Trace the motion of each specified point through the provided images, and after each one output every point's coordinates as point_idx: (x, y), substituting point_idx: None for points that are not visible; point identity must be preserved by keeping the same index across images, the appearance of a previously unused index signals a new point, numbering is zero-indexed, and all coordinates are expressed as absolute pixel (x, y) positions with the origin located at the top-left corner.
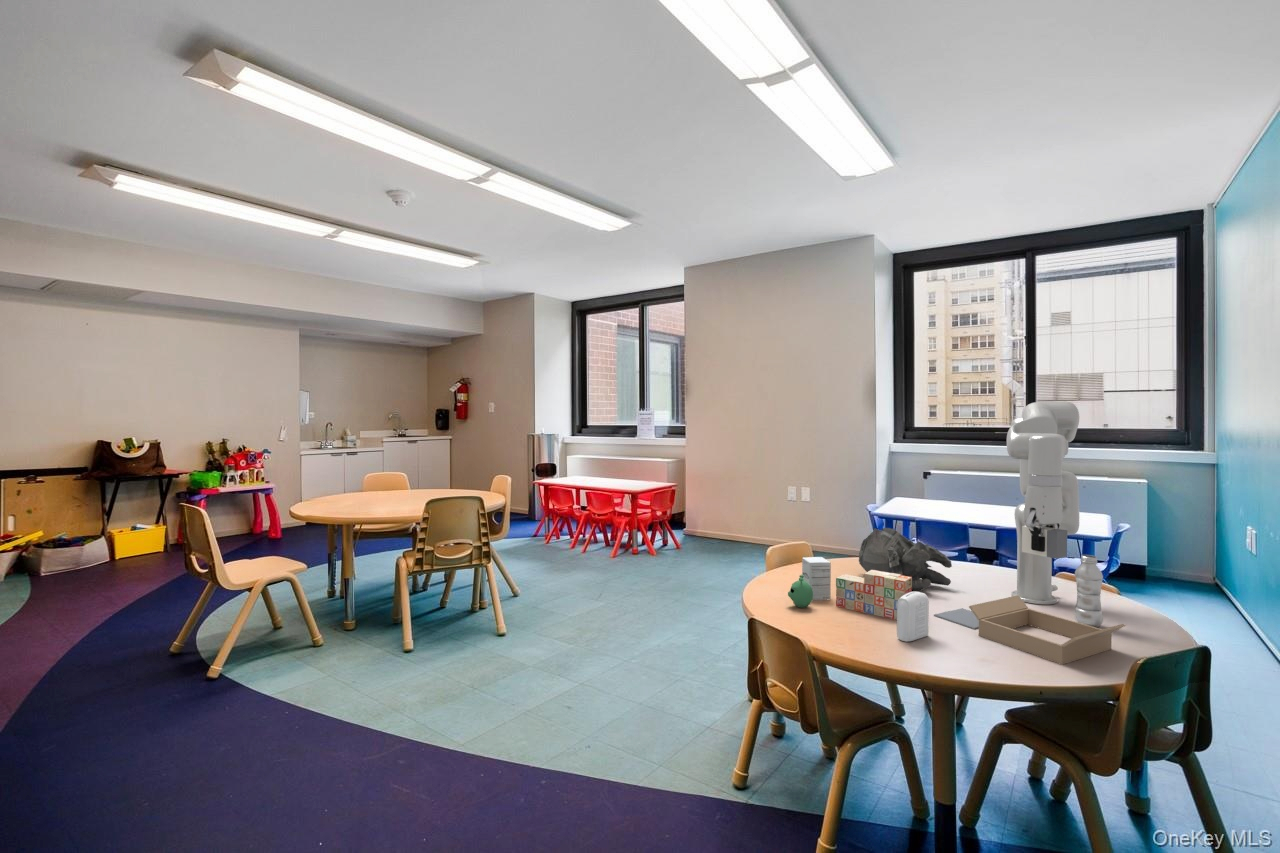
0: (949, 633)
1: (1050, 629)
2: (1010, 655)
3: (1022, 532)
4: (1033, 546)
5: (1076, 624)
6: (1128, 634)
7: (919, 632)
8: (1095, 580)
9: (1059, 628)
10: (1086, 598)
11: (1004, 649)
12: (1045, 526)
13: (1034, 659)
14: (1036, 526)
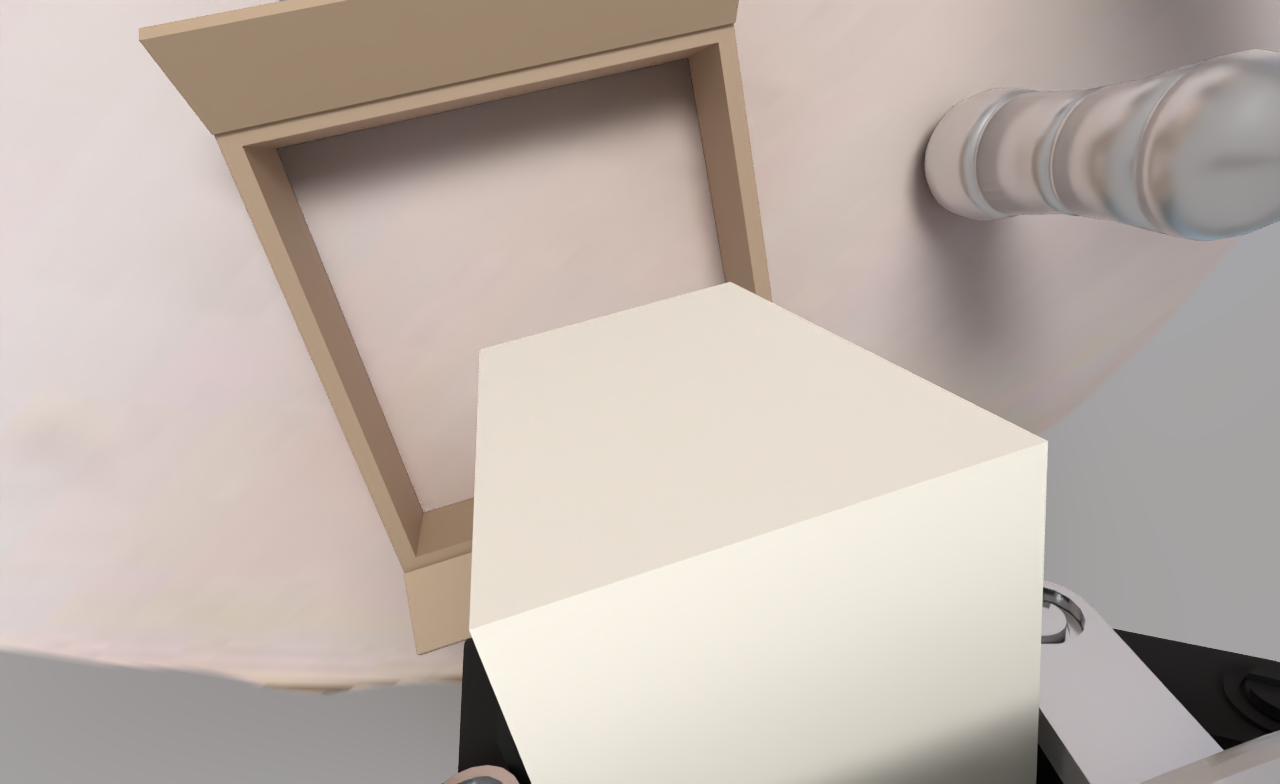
0: (60, 43)
1: (712, 185)
2: (244, 414)
3: (476, 517)
4: (467, 649)
5: None
6: (988, 297)
7: None
8: (1162, 229)
9: (727, 231)
10: (1034, 182)
11: (267, 344)
12: (1049, 753)
13: (332, 469)
14: (869, 714)
